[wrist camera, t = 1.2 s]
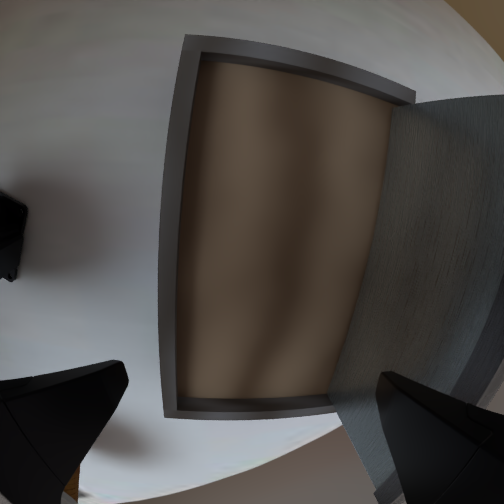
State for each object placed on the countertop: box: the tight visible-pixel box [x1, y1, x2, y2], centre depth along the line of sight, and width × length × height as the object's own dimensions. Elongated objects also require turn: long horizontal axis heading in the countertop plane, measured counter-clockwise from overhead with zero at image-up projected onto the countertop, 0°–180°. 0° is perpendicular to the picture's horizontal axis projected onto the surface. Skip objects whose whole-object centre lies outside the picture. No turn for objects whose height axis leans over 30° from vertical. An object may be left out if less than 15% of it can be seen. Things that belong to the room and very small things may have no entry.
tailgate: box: [327, 95, 504, 504], centre depth 13 cm, size 2×22×12 cm, turn 172°
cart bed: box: [158, 34, 416, 420], centre depth 18 cm, size 14×25×4 cm, turn 172°
